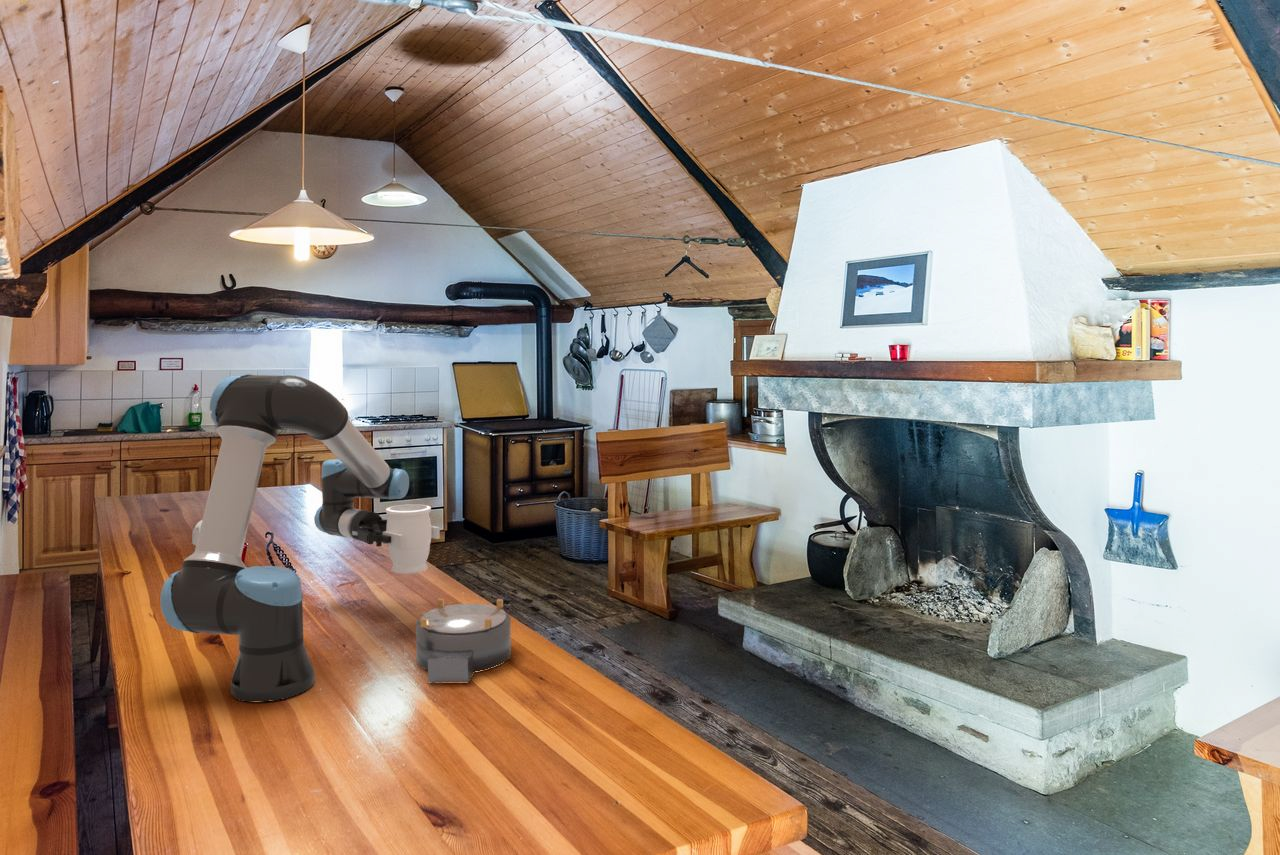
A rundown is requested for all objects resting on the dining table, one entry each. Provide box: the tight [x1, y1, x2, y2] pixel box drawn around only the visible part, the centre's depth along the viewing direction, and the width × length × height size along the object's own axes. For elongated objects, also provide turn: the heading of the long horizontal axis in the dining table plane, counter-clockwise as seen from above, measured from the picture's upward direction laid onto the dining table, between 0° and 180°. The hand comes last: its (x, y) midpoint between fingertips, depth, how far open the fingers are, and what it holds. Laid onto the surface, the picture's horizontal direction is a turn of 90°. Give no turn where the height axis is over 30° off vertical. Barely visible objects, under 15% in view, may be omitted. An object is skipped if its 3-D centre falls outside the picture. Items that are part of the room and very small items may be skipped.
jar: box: [385, 503, 432, 575], centre depth 199 cm, size 11×10×15 cm
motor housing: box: [415, 598, 512, 683], centre depth 179 cm, size 24×20×11 cm
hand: (420, 537), depth 196 cm, fingers closed on jar, 10 cm apart
